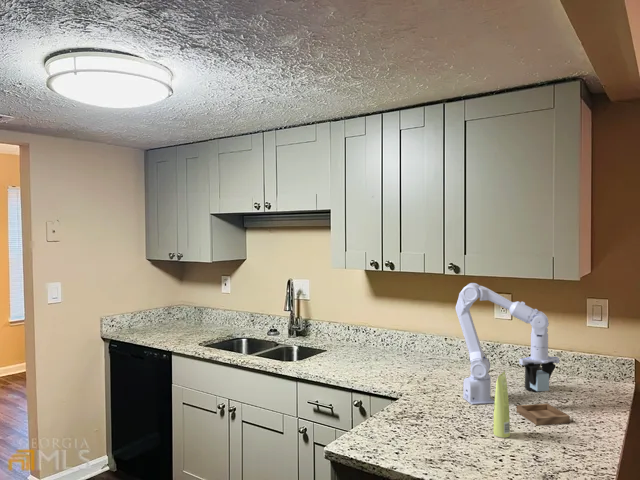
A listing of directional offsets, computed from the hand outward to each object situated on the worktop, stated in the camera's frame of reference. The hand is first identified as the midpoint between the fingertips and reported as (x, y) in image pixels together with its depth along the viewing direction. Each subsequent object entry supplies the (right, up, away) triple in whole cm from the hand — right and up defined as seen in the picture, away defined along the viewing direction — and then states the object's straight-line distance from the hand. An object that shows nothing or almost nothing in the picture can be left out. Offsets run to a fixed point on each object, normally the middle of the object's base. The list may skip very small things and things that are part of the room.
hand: (539, 383), depth 175 cm
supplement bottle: (+7, -9, +21) cm, 23 cm away
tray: (-3, -9, -8) cm, 13 cm away
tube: (-22, -10, -22) cm, 33 cm away
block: (0, -2, 0) cm, 2 cm away
